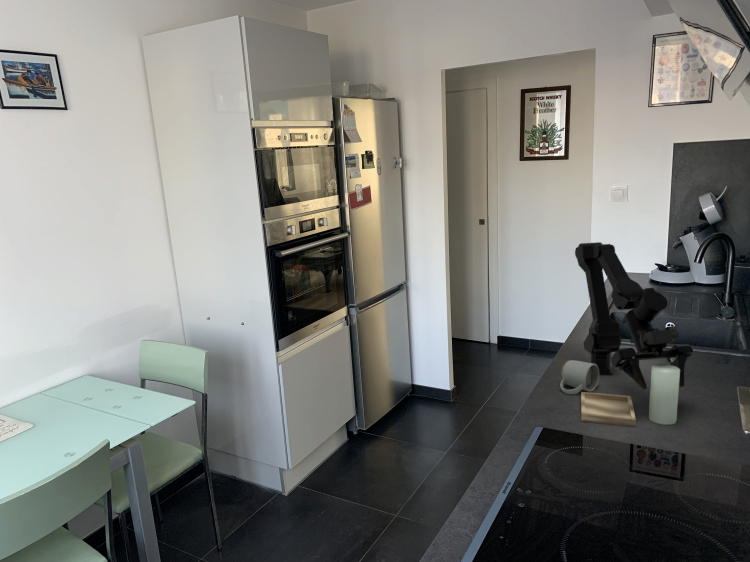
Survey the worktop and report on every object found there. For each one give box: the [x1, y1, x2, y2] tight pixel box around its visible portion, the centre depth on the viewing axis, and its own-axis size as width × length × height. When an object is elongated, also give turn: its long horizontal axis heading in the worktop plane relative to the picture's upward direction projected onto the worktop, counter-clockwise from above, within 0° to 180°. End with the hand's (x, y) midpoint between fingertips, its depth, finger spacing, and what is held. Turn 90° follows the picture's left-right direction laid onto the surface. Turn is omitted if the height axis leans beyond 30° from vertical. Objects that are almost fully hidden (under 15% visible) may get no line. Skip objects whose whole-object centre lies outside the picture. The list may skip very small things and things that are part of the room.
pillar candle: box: [648, 363, 680, 426], centre depth 135 cm, size 6×6×13 cm
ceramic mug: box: [559, 359, 600, 395], centre depth 155 cm, size 11×8×8 cm
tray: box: [580, 391, 637, 428], centre depth 141 cm, size 14×12×2 cm
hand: (664, 387), depth 134 cm, fingers open, 9 cm apart
